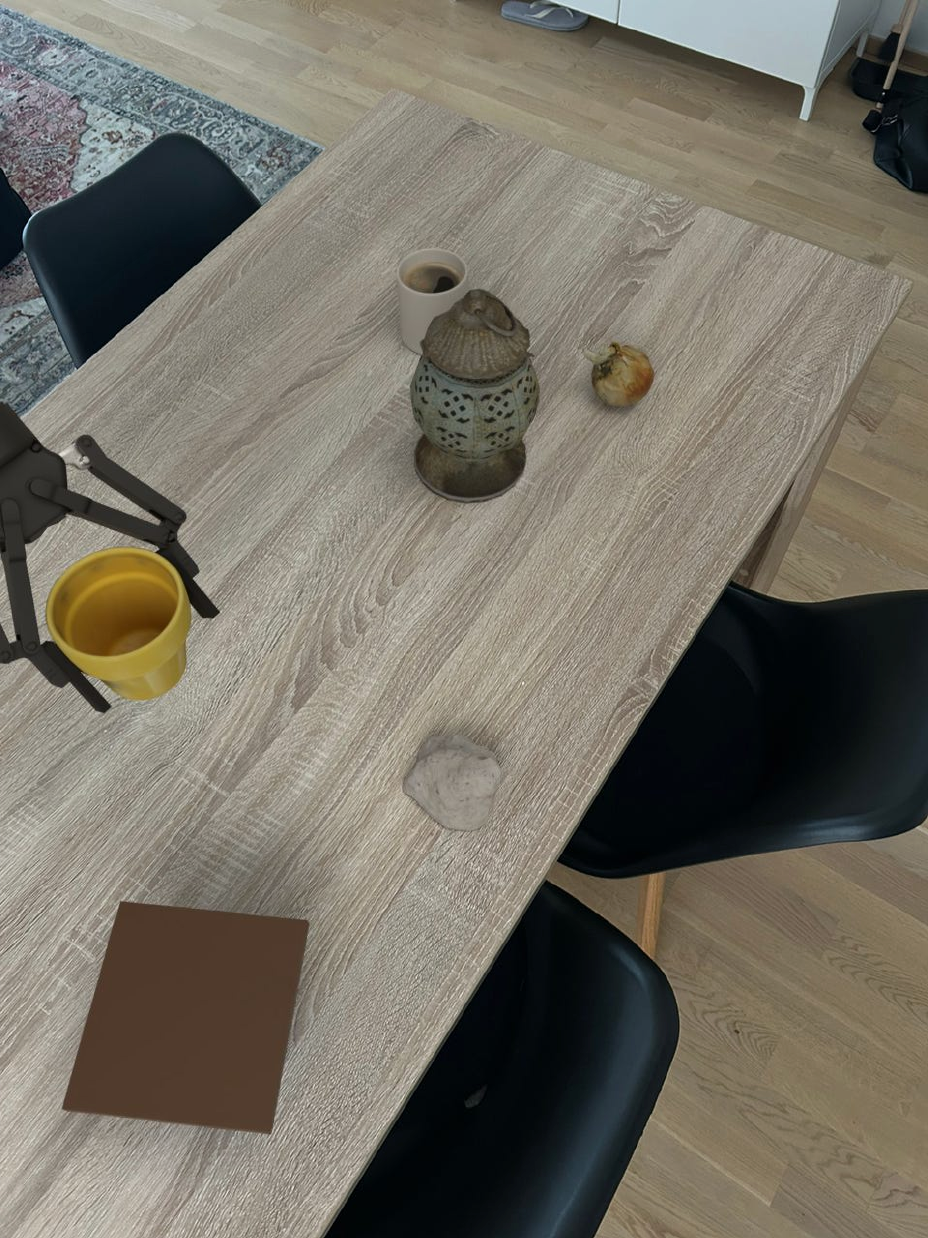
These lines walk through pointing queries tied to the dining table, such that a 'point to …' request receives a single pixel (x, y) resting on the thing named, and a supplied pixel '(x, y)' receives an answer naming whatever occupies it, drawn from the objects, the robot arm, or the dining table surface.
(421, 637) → the dining table surface
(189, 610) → the flower pot
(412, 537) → the dining table surface
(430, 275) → the mug
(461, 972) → the dining table surface
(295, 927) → the stand
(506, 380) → the lantern
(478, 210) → the dining table surface
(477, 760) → the stone
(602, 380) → the onion
